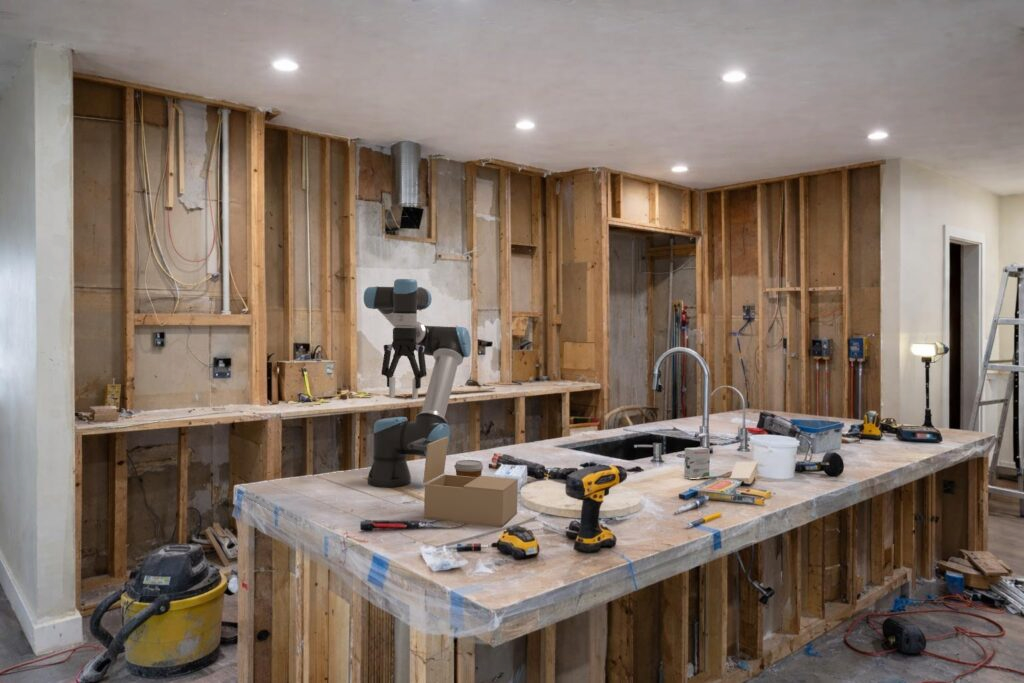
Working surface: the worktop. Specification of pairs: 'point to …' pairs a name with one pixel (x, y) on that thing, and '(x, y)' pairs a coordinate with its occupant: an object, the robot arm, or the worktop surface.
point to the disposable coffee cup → (468, 468)
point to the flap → (432, 456)
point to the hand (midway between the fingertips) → (403, 397)
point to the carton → (471, 499)
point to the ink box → (696, 462)
